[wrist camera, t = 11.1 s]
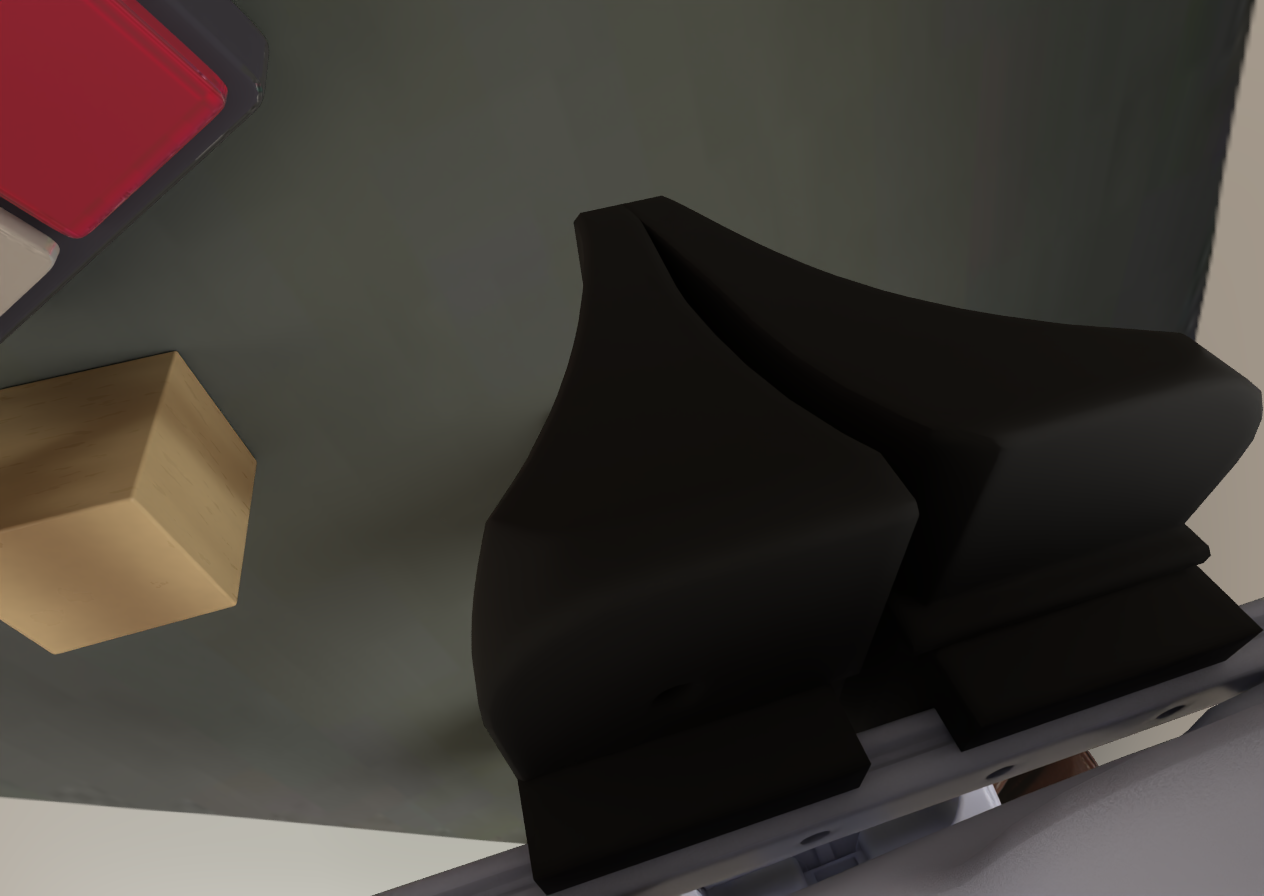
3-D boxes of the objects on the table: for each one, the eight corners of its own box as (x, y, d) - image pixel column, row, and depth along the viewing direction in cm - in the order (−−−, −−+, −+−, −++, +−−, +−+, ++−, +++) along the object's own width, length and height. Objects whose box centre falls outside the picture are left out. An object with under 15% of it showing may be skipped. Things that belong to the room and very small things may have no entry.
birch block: (177, 349, 20) (132, 498, 16) (258, 461, 24) (237, 606, 20) (-6, 389, 19) (-101, 555, 15) (106, 498, 23) (53, 656, 19)
